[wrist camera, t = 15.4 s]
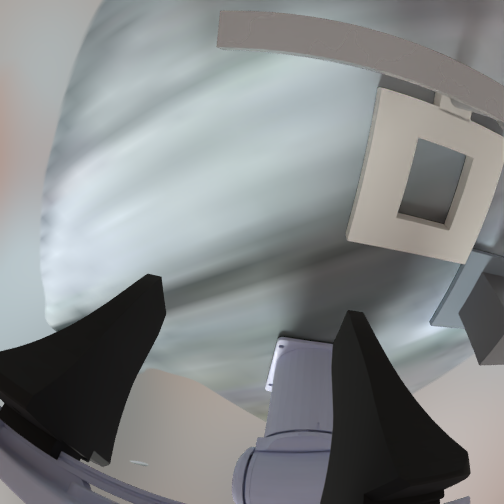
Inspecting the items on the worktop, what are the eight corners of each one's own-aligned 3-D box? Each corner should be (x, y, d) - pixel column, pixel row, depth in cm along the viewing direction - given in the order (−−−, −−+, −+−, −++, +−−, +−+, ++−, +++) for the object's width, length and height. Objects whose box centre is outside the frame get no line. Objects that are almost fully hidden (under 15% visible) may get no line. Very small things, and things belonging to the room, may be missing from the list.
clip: (524, 100, 7) (537, 103, 6) (517, 138, 8) (530, 143, 7) (227, 11, 8) (221, 5, 7) (223, 56, 9) (216, 53, 8)
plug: (483, 316, 20) (505, 364, 15) (458, 313, 21) (479, 365, 16) (507, 277, 18) (536, 324, 13) (481, 271, 18) (512, 322, 13)
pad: (486, 327, 22) (488, 330, 21) (429, 321, 22) (430, 325, 22) (524, 263, 17) (527, 266, 17) (469, 247, 18) (471, 251, 17)
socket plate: (459, 257, 18) (491, 308, 13) (345, 233, 19) (357, 289, 14) (507, 108, 12) (562, 128, 7) (382, 54, 13) (419, 42, 8)
